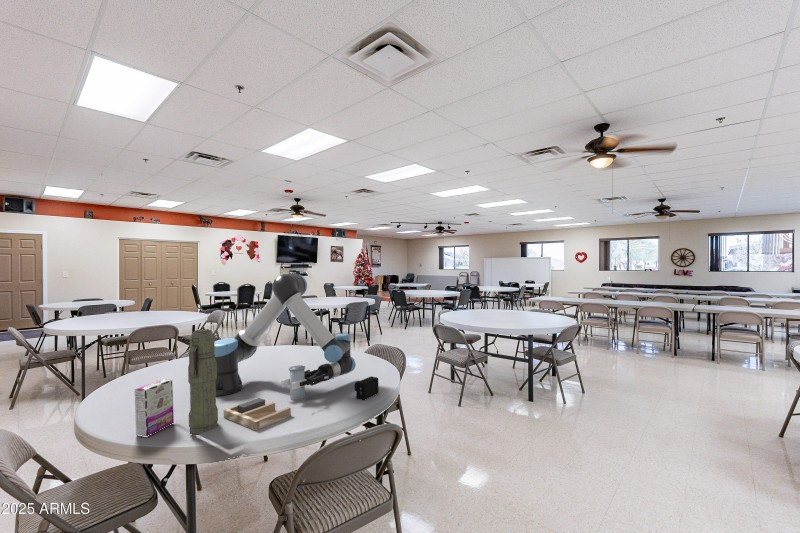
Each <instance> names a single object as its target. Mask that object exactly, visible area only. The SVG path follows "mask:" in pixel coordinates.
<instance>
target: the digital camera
mask: <svg viewBox="0 0 800 533" xmlns="http://www.w3.org/2000/svg"><path fill="white" fill-rule="evenodd" d="M354 390H355V393H356V396H355V397H356V399H357V400H360V399H362V401H366V400H367V398H368V399H369V397H370V398H371V396H372V397H373V395H374V396H376V395H378V394H379V390H380V389H379V377H378V376H377V377H376V376H373V375H372V376H368V377H366V378H364V379H362V380H356V381H355V383H354ZM377 393H378V394H377ZM375 394H376V395H375ZM365 399H366V400H365Z"/></svg>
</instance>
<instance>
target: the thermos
mask: <svg viewBox="0 0 800 533" xmlns="http://www.w3.org/2000/svg"><path fill="white" fill-rule="evenodd" d="M214 351H215V336H214V332H213V331H212V330H211V329H210V328H209V329H207V328H204V329H196V330H194V331H192V333H191V335H190V338H189V351H188V366H187V377H188V378H187V380H188V381H187V382H188V384H189V396H190V397H189V400H190V401H189V404H190V407H189V408H190V410H189V412H188V427H189V432H190V433H189V435H190V434H192V435H200V433H204V432H208V431H210V430H212V429H215V428H216V427H217V426H218V421H219V411H218V410H219V408H218V406H217V396H216V379H217V362H216V360H215V354H214ZM192 435H191V436H192Z"/></svg>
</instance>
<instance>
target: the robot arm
mask: <svg viewBox="0 0 800 533" xmlns="http://www.w3.org/2000/svg"><path fill="white" fill-rule="evenodd" d="M271 288H272V293H273V295H272V296H271V298H270V299H269V300H268V301H267V302H266V304H264V306H263V307H262V308H261V310H260V311H259V312H258V314H256V316H255V317H254V318H253V320H252V321H251V322H250V323H249V324H248V326H246V328H245V329H241V330H240V331H239V332H238V333H236V335H235V336H234V337H226V338H222V339H218V340H214V342H215V351H214V354H215V360H216V362H217V379H216V397H223V396H228V395H232V394H235V393H238V392H239V391H241V390H242V389H243V382H242V379H241V377H240V374H239V363H241V362H242V361H246V360H248V359H250V358H251V357H253V355H255V354H256V352H257V350H258V347H259V345H260V342H261V341H260V339H261V338H263V336H264V335H265V333H266V332H268V329H270V327H271V326H272V325H273V324H274V323H275V321H276V320H277V318H279V316H280V315H281V314H282V313H283V312H284V310H285V309H286V308H287V309H288V310H289V311H290V313H292V315H293V316H294V317H295V318H296V319H297V321H298V322H299V323H300V325H301V326H302V327H303V328H304V329H305V331H306V332H307V333H308V334H309V335H310V336H311V338H312V339H313V341H315V343H316V344H317V345H318V347H320V349H322V351H323V355H324V359H325V360H326V361H327V362H326V363H323V364H320V365H318V367H317V369H314V370H310V369H307V370H304V375H305V379H302V380H299V381H296V382H293V383H292V390H294V389H297V388H300V387H302V386H305V387H306V386H315V385H317V384H320V383H323V382H328V381H330V380H332V379H333V380H334V379H335V378H337V377H341V376H344V375H347V374H349V373H351V372H353V371H354V370H355V369H356V365H357V364H356V360H355V358H353V356H352V355H351V354H352V353H351V343H352V342H351V335H350V334H348V333H338V334H335V335H333V334H332V333H331V331H330V330H329V329H328V328H327V326H326V325H325V324H324V323H323V322H322V321H321V319H320V318H319V317H318V316H317V314H315V312H314V311H313V310H312V309H311V307H310V306H309V305H308V303H306V301H305V300H304V299H303V297H302V296H304V294H305V293H306V291H307V289H308V282H307V280H306V277H304V276H303V275H302V274H300V273H296V272H295V273H282V274H280V275H278V276H277V277H275V279H274V280H273V283H272V287H271ZM287 386H290V377H287V378H284V379H281V387H282V388H284V387H287Z"/></svg>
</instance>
